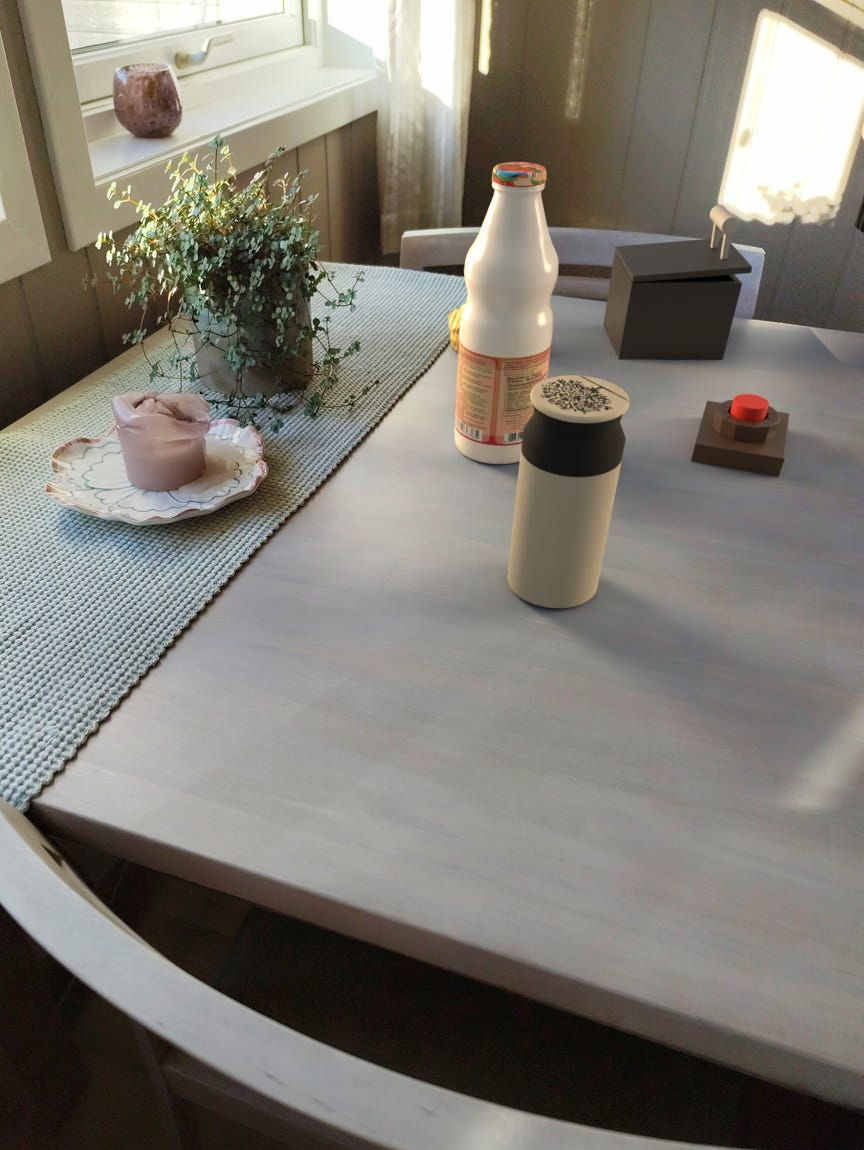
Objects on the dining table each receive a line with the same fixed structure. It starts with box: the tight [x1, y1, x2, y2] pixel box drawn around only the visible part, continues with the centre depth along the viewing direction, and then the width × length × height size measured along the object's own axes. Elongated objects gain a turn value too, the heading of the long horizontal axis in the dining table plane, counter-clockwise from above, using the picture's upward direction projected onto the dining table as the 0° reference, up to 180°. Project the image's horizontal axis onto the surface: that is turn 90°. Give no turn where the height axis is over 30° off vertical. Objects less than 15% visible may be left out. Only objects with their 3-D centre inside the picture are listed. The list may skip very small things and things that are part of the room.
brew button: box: [730, 393, 770, 422], centre depth 96 cm, size 4×4×2 cm
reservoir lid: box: [614, 204, 753, 282], centre depth 112 cm, size 14×12×6 cm
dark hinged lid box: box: [602, 252, 743, 361], centre depth 118 cm, size 14×12×10 cm
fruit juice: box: [453, 161, 559, 465], centre depth 90 cm, size 9×9×28 cm
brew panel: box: [690, 399, 790, 478], centre depth 98 cm, size 11×9×4 cm
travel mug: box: [506, 374, 630, 609], centre depth 74 cm, size 8×8×18 cm
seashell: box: [447, 303, 465, 354], centre depth 118 cm, size 10×7×8 cm
